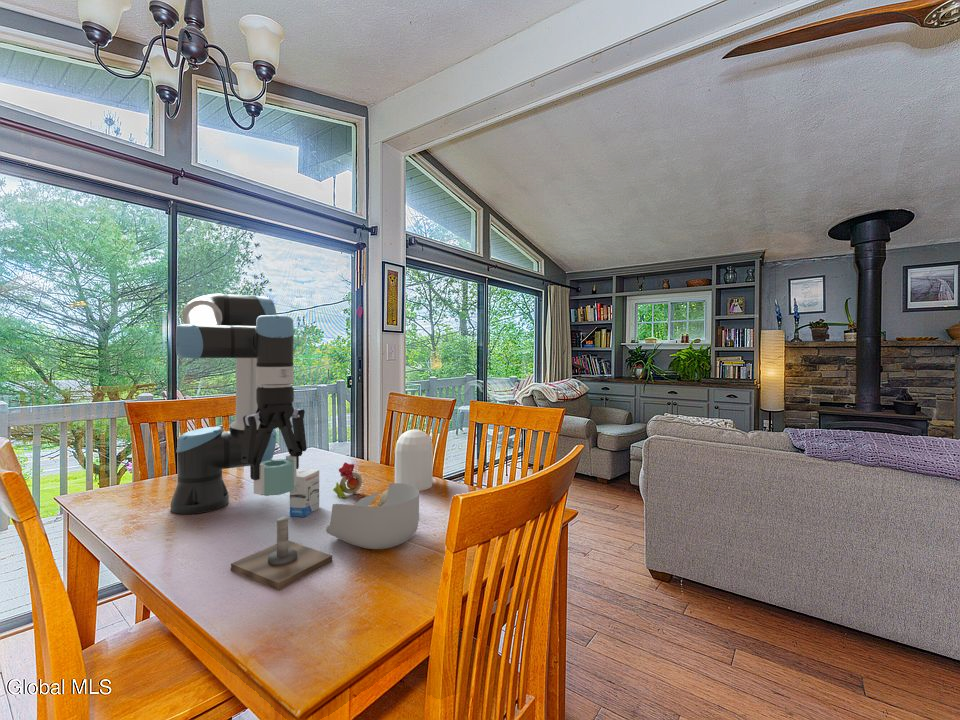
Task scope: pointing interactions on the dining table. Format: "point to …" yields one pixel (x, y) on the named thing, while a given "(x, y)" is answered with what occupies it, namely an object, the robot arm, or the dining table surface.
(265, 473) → the collar
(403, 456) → the container
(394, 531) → the bowl
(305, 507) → the ink box
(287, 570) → the shaft board
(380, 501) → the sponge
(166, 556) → the dining table surface
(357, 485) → the bird rattle
